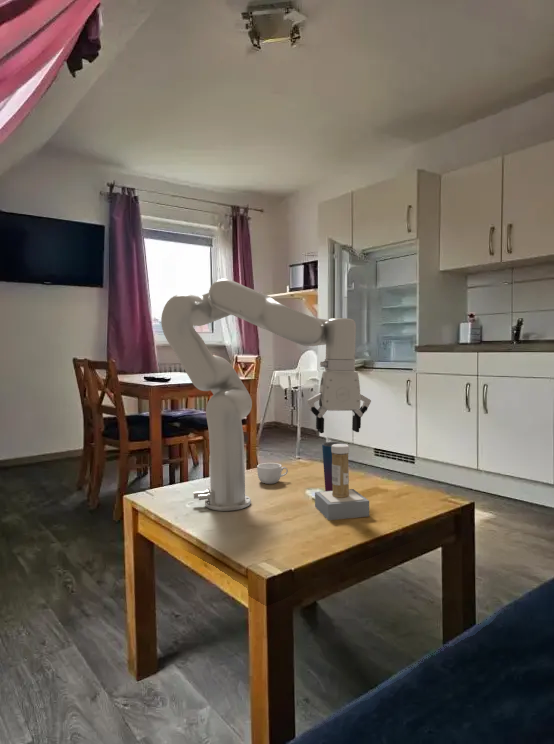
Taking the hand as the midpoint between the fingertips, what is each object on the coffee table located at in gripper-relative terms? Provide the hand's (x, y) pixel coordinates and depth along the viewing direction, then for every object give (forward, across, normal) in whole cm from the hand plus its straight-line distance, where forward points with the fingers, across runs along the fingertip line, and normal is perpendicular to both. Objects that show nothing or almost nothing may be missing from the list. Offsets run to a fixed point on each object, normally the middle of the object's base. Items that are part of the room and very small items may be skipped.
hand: (338, 431), depth 134 cm
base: (+21, +1, -1) cm, 21 cm away
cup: (+21, +4, +13) cm, 26 cm away
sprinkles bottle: (+17, +1, 0) cm, 17 cm away
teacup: (+22, -10, +32) cm, 40 cm away
